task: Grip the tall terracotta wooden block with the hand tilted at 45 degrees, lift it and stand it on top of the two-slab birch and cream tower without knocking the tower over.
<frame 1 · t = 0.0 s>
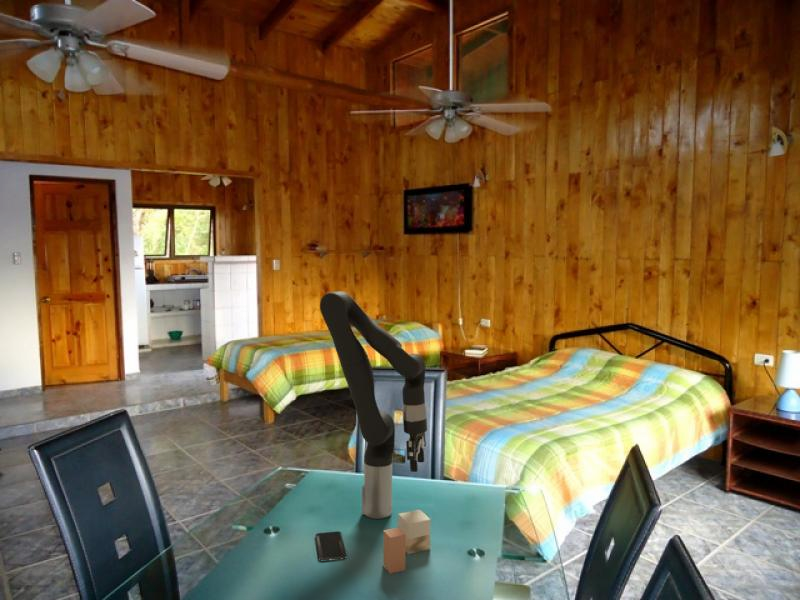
hand: (417, 466, 185), 17 cm above the table, tool pointing down, fingers open, 8 cm apart
stack block: (394, 567, 157), on the table
phone: (330, 548, 168), on the table
tower base: (414, 546, 169), on the table, touching tower top
tower top: (414, 531, 168), point 4 cm above the table, touching tower base
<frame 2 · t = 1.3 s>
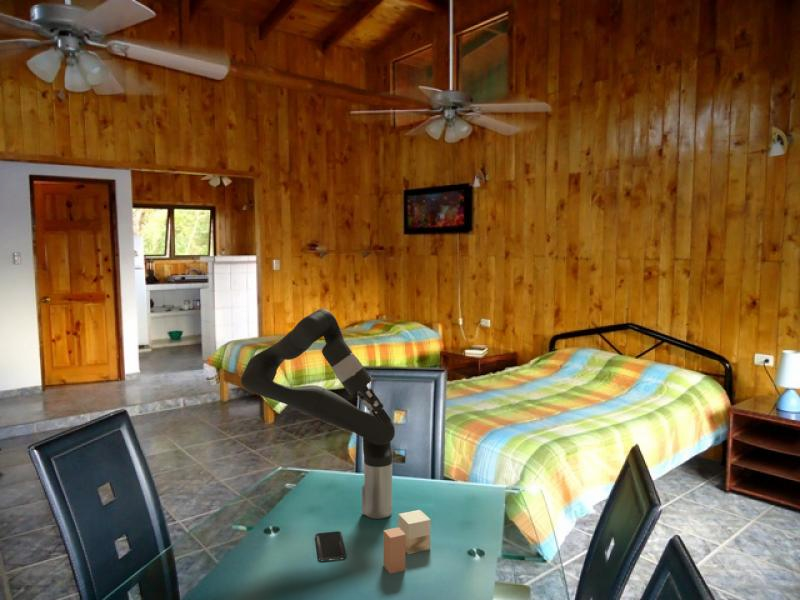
hand: (385, 422, 158), 39 cm above the table, tool tilted 35°, fingers open, 8 cm apart
nothing on the table moved.
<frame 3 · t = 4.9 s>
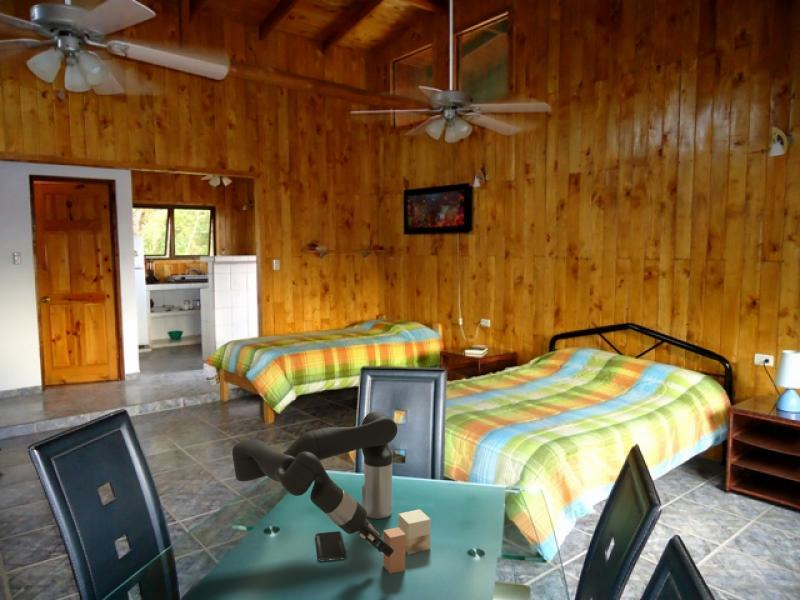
hand: (384, 545, 154), 7 cm above the table, tool tilted 45°, fingers open, 8 cm apart
nothing on the table moved.
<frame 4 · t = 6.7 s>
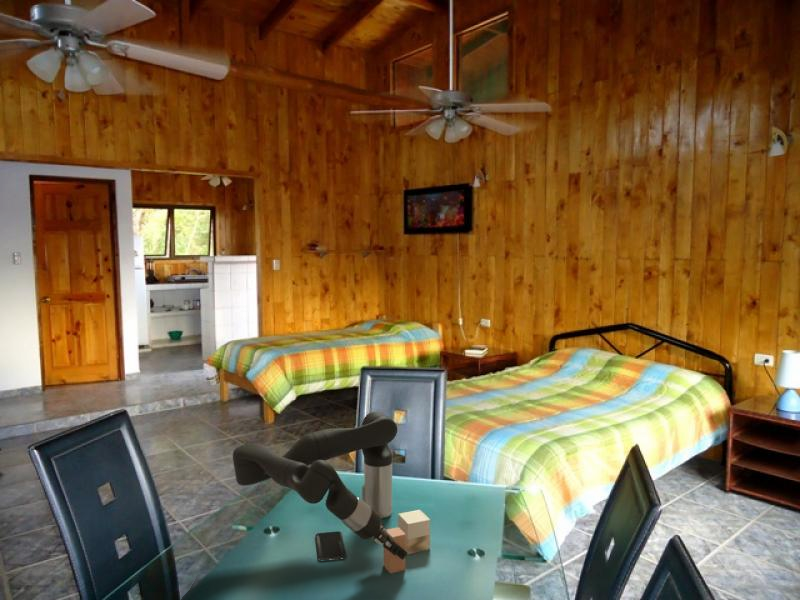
hand: (400, 551, 157), 4 cm above the table, tool tilted 45°, fingers closed on stack block, 4 cm apart
stack block: (394, 567, 157), on the table, touching gripper
everything else where it was.
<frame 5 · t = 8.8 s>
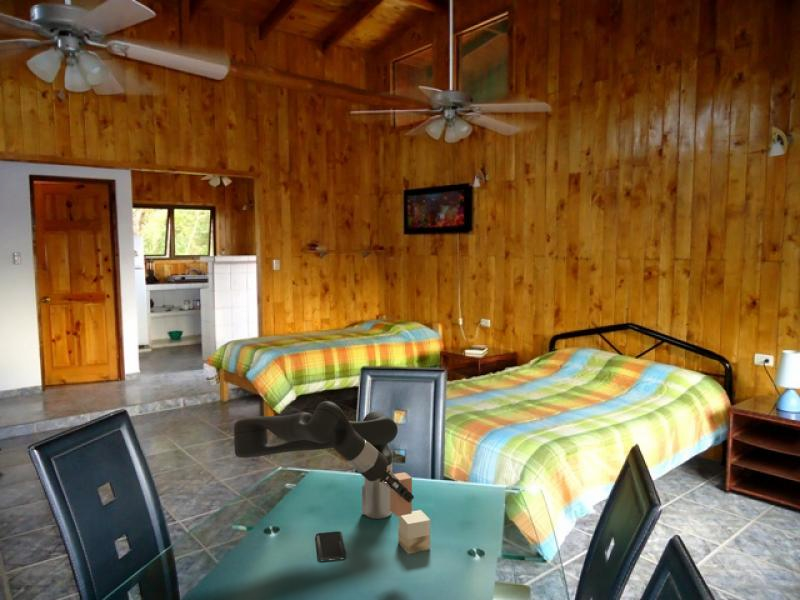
hand: (407, 495, 158), 19 cm above the table, tool tilted 45°, fingers closed on stack block, 4 cm apart
stack block: (400, 511, 158), point 15 cm above the table, touching gripper
tower base: (414, 546, 169), on the table
tower top: (414, 531, 168), point 4 cm above the table
everything else where it was.
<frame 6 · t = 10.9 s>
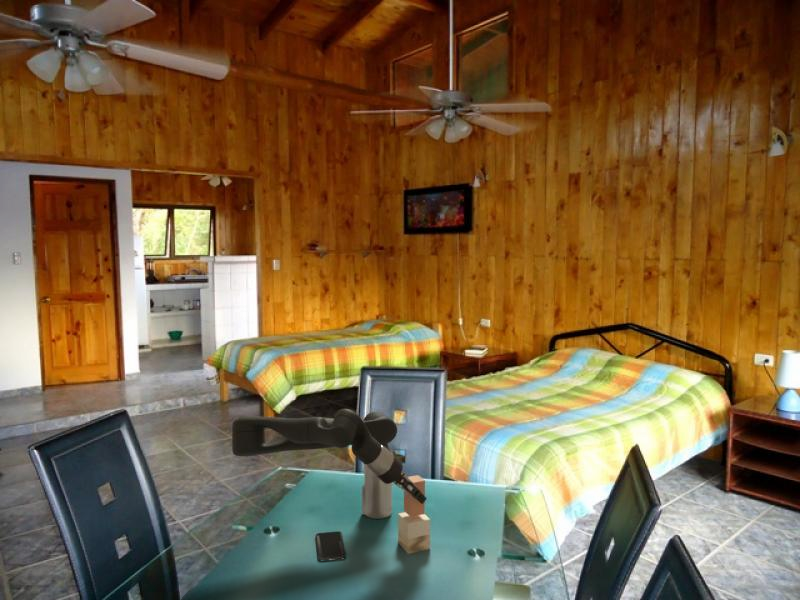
hand: (420, 497, 168), 14 cm above the table, tool tilted 45°, fingers closed on stack block, 4 cm apart
stack block: (414, 512, 168), point 10 cm above the table, touching gripper
tower base: (413, 546, 169), on the table, touching tower top
tower top: (413, 531, 168), point 4 cm above the table, touching tower base
everything else where it was.
when the fingers open (14 cm above the table, at t = 11.1 s): stack block drops 1 cm, resting on tower top.
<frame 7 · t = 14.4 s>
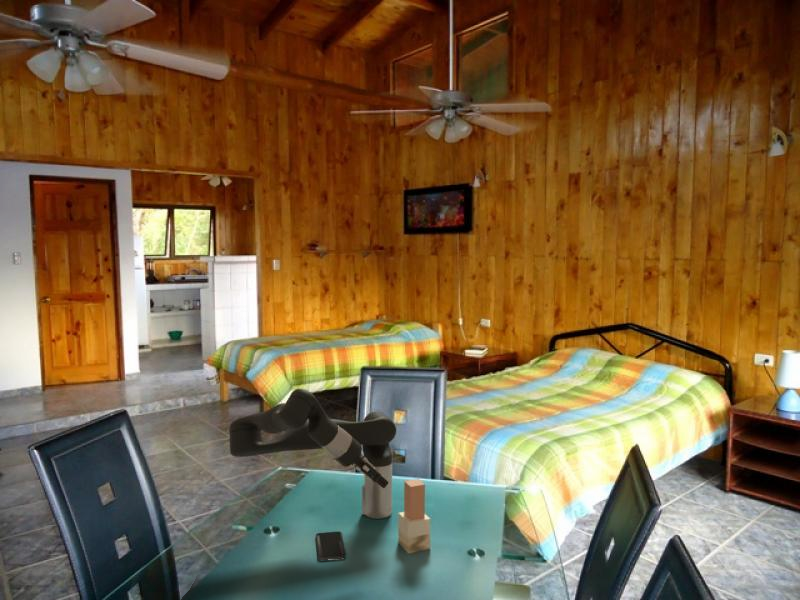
hand: (380, 479, 162), 22 cm above the table, tool tilted 45°, fingers open, 8 cm apart
stack block: (414, 515, 168), point 9 cm above the table, touching tower top
tower top: (414, 530, 169), point 4 cm above the table, touching stack block, tower base
everything else where it was.
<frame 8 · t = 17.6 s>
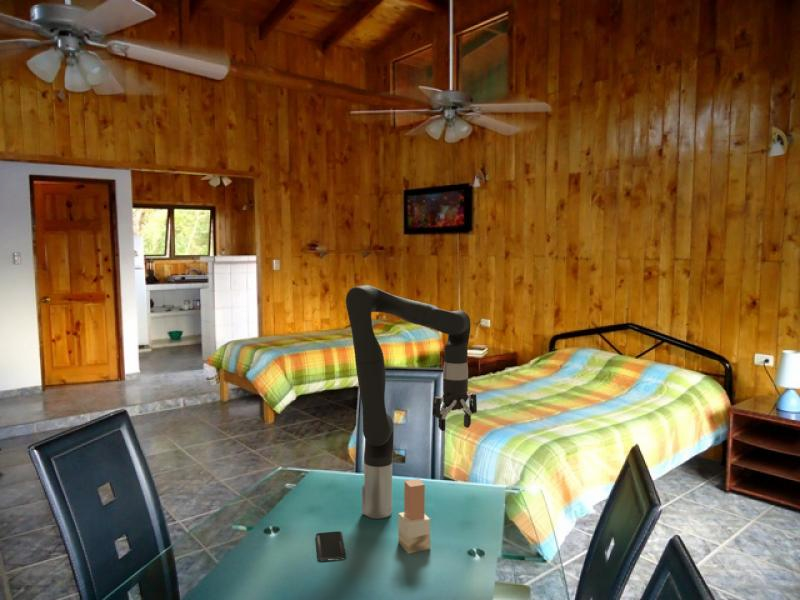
hand: (454, 428, 176), 32 cm above the table, tool pointing down, fingers open, 8 cm apart
nothing on the table moved.
at the end: stack block 0.0 cm off-centre on the tower top, point 4.5 cm above the tower top's base; tower top 0.1 cm off-centre on the tower base, point 4.5 cm above the tower base's base; stack block tilted 0° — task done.
